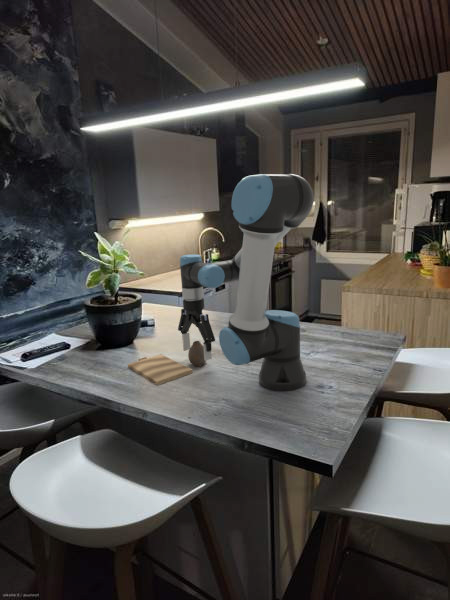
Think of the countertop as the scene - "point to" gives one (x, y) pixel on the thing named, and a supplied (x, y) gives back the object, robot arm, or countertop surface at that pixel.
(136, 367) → the board
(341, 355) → the countertop surface
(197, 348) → the vase
